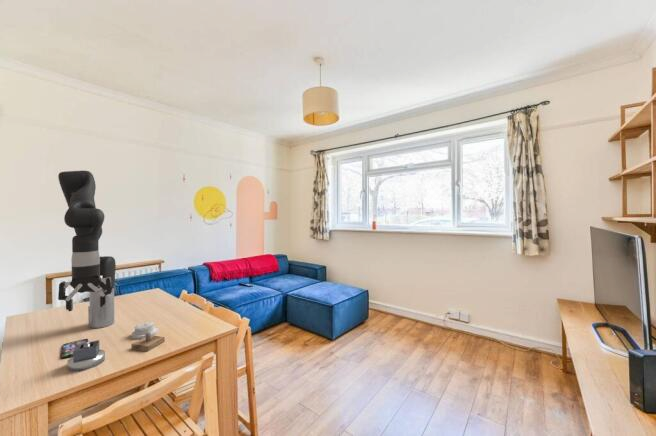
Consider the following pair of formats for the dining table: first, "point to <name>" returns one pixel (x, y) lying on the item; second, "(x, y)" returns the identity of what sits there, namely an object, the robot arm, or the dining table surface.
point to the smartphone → (70, 348)
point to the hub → (86, 361)
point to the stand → (148, 342)
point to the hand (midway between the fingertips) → (86, 308)
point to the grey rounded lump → (144, 330)
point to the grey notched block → (86, 352)
